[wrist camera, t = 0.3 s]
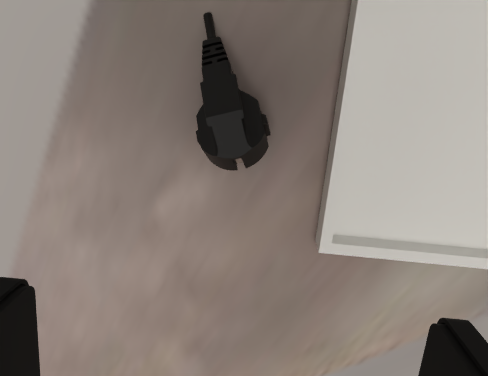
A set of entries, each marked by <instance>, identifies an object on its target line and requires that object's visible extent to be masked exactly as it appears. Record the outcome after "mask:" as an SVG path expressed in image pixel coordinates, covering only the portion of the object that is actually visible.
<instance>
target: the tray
mask: <svg viewBox="0 0 488 376" xmlns="http://www.w3.org/2000/svg"><path fill="white" fill-rule="evenodd" d="M315 242H316V245H317V248H318V252H319V253H327V254H337V255H347V256H358V257H368V258H378V259H389V260H399V261H409V262H419V263H430V264H440V265H450V266H461V267H471V268H481V269H488V0H352V2H351V8H350V15H349V21H348V28H347V35H346V41H345V48H344V54H343V61H342V68H341V74H340V81H339V87H338V94H337V101H336V107H335V114H334V120H333V127H332V134H331V140H330V147H329V153H328V160H327V167H326V173H325V180H324V186H323V193H322V200H321V206H320V213H319V219H318V226H317V232H316V239H315Z"/></svg>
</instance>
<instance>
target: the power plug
mask: <svg viewBox="0 0 488 376" xmlns="http://www.w3.org/2000/svg"><path fill="white" fill-rule="evenodd" d="M204 21H205V27H206V33H207V38H208V39H207V40H204V41H203V45H202V47H203V50H202V54H203V55H202V60H203V61H202V74H203V82H201V83H200V85H201V91H202V97H203V105H202V107H201V108H200V110H199V112H198V114H197V116H196V117H197V124H198V130H197V131H196V134H197V141H198V143H199V144H200V146H201V148H202V150H203V151H204V153H205V154H206V156H207V157H208V158H209V160H210V161H211V162H212V163H213V164H215V165H216V166H218V167H220V168H222V169H226V170H238V169H237V164H239V163H244V165H245V167H246V168H248V167H250V166H252V165H254V164H255V163H256V162H258V161H259V160H260V159H261V158H262V157H263V155H264V154H265V152H266V151H267V148H268V142H267V137H266V136H268V135H270V130H269V125H268V122H267V118H266V115H265V114H261V111H260V107H259V103H258V101H257V100H256V99H255V98H254V97H252V96H250V95H249V94H247V93H245V92H243V91H241V90H239V88H238V83H237V78H236V75H235V74H233V71H232V68H231V65H230V62H229V60H228V57H227V54H226V52H225V49H224V46H223V44H222V41H221V38H220V37H216V35H215V30H214V25H213V19H212V14H211V13H209V12H207V13H205V14H204Z"/></svg>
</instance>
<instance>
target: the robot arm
mask: <svg viewBox="0 0 488 376" xmlns="http://www.w3.org/2000/svg"><path fill="white" fill-rule="evenodd" d="M0 376H40V364H39V348H38V331H37V315H36V299H35V290H34V288H33V287H32V286H29V284H28V282H27V281H26V280H25V279H16V278H6V277H0ZM418 376H488V343H487V342H486V340H484V338H483V337H482V336H481V334H480V333H479V332H478V331H477V330H476V329H475V327H474V326H473V325H472V324H471V323H470V322H469V321H467V320H460V319H449V318H441V319H439V321H438V322H437V324H435V323H434V324H432V325H431V326H430V329H429V333H428V337H427V341H426V346H425V350H424V354H423V359H422V363H421V367H420V371H419V375H418Z"/></svg>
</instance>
